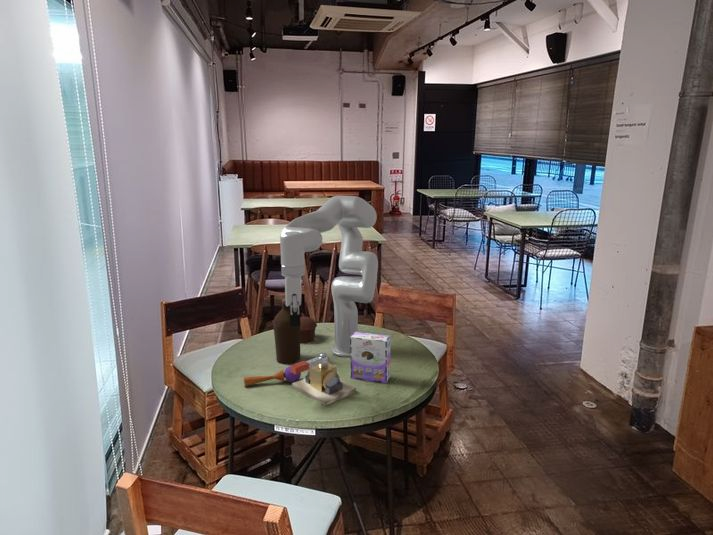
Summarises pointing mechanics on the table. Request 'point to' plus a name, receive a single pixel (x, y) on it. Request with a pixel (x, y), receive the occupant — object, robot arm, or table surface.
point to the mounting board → (322, 396)
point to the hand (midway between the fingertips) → (295, 321)
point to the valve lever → (310, 364)
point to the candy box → (370, 357)
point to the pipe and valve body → (324, 379)
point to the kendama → (273, 377)
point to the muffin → (307, 330)
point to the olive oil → (286, 337)
